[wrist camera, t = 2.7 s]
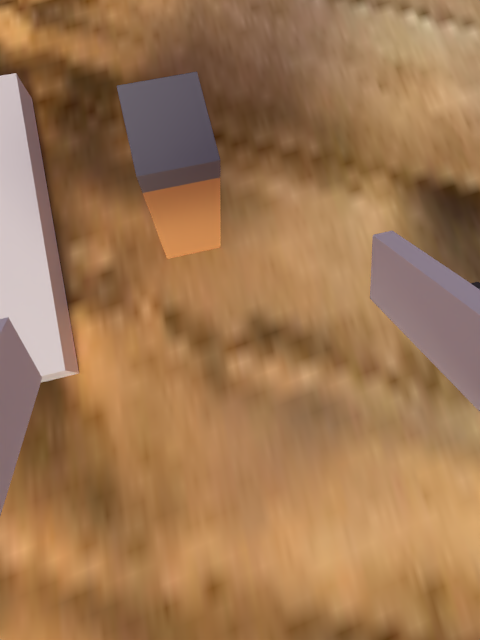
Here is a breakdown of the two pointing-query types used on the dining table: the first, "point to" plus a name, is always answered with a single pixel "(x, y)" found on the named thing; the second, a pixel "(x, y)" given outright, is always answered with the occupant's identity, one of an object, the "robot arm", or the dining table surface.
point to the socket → (30, 241)
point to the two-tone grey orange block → (175, 160)
